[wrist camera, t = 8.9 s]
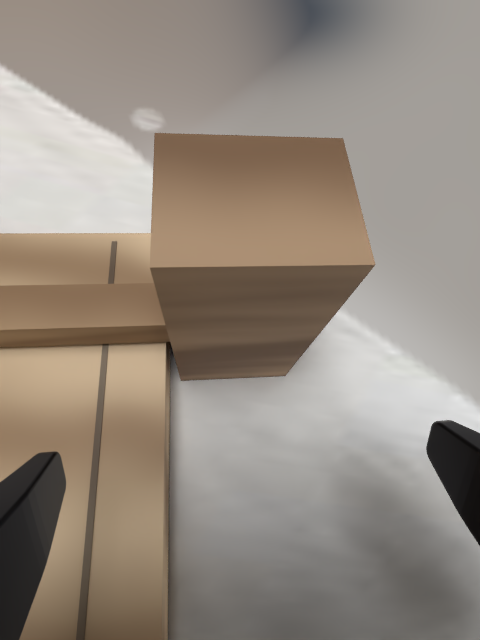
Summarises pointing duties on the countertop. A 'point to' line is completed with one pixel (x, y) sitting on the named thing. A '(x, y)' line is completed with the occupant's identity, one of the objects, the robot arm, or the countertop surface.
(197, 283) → the gauge
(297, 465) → the countertop surface
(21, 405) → the board
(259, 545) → the countertop surface
